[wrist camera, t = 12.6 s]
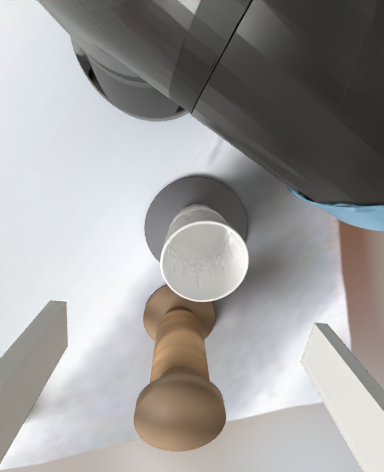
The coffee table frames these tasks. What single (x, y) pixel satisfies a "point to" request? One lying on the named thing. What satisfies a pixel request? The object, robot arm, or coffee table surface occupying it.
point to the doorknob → (179, 376)
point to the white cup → (203, 255)
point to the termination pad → (184, 196)
